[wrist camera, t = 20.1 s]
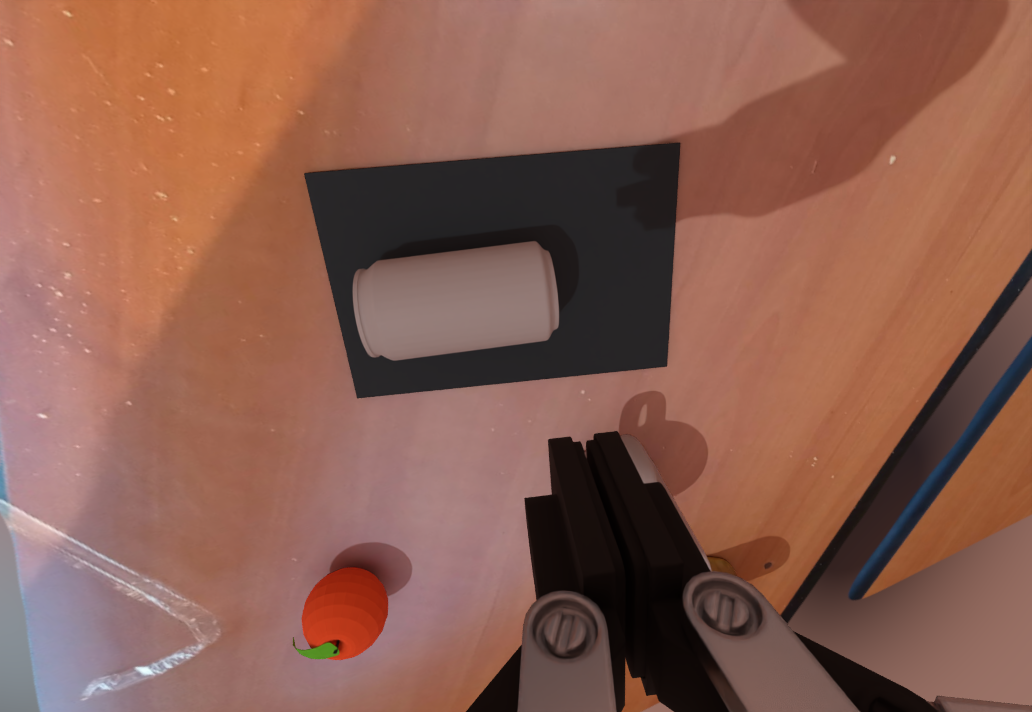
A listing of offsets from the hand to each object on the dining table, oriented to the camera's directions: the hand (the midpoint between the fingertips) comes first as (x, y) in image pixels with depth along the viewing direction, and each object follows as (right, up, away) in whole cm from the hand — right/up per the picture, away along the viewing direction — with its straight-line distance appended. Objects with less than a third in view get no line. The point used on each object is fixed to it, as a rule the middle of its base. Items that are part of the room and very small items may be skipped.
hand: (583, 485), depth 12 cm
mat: (-2, +9, +22) cm, 24 cm away
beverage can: (+1, +7, +19) cm, 20 cm away
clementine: (-17, -17, +32) cm, 40 cm away
